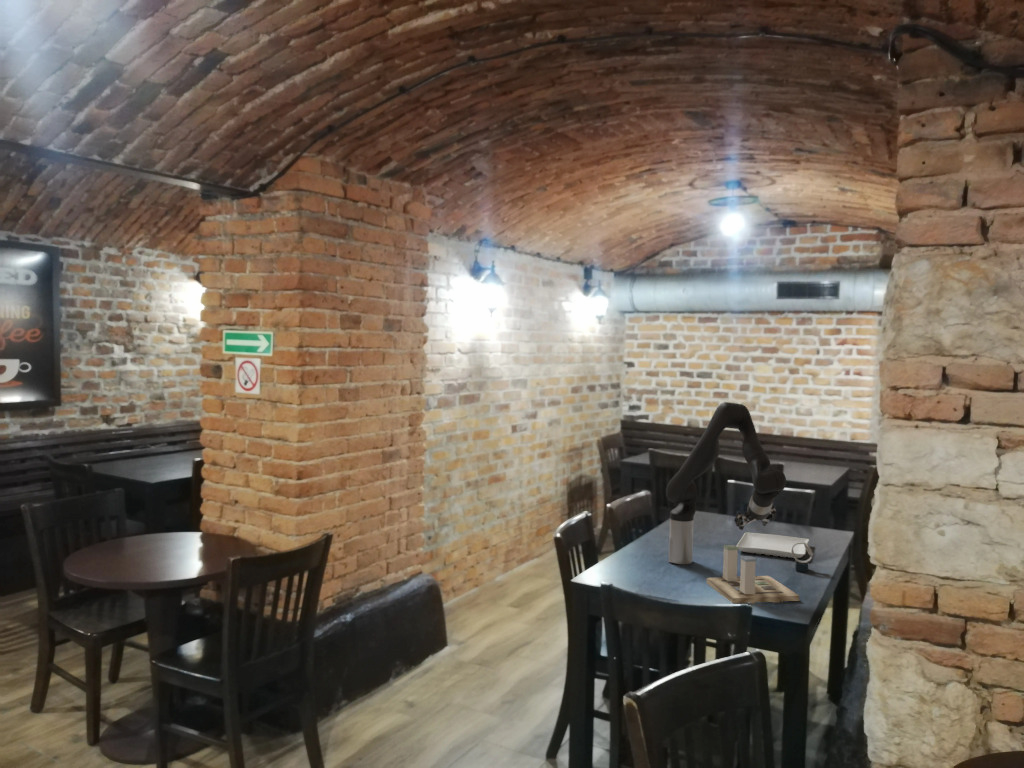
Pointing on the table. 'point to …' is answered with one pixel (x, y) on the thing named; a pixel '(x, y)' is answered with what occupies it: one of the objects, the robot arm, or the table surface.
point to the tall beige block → (730, 563)
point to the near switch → (747, 575)
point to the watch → (801, 564)
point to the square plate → (772, 545)
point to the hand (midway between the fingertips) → (752, 525)
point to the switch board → (764, 590)
